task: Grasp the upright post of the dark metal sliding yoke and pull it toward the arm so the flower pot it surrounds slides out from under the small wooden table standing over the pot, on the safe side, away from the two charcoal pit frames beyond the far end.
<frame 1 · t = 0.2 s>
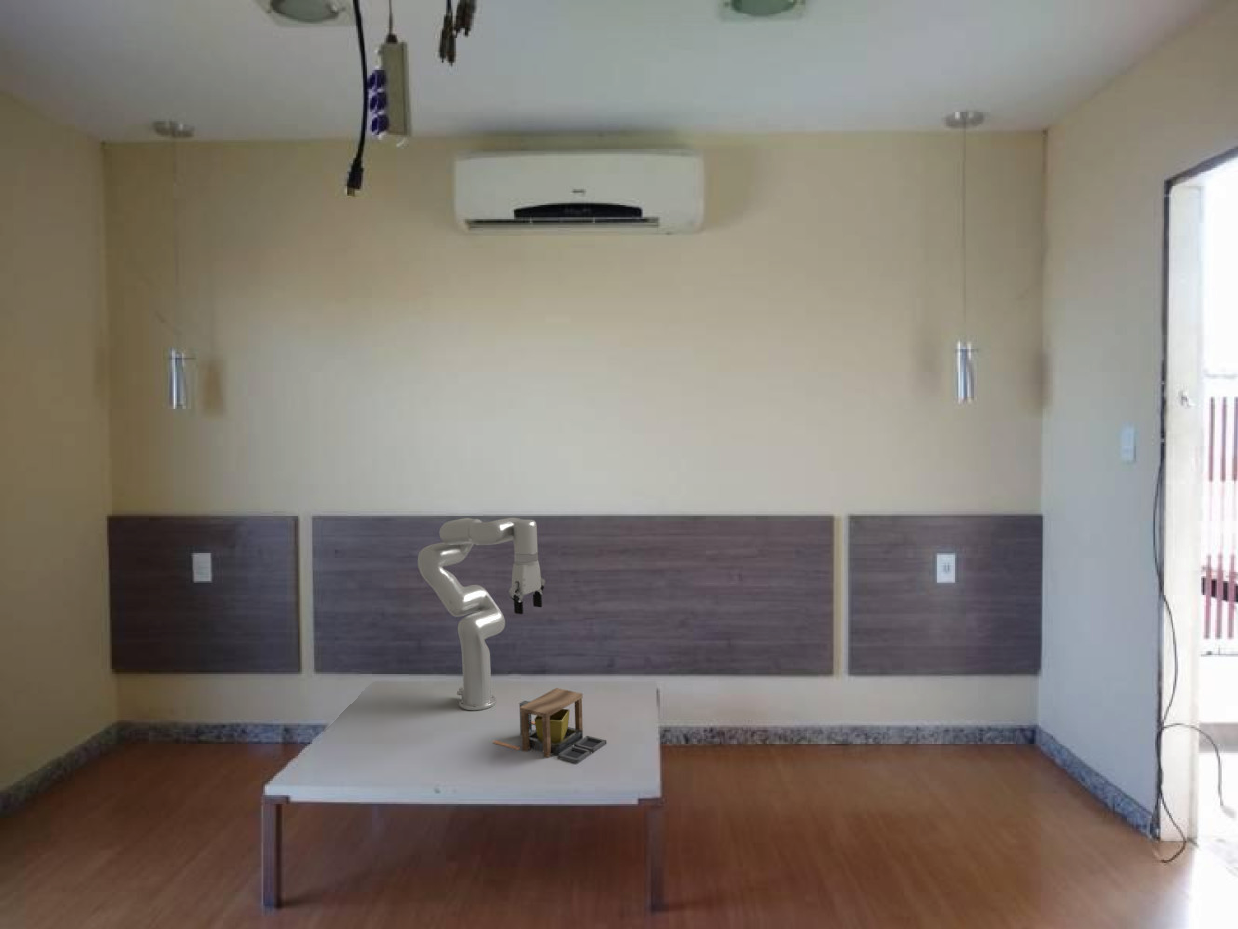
hand: (528, 610, 246), 36 cm above the table, tool pointing down, fingers open, 9 cm apart
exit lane: (524, 735, 235), on the table
yoke: (545, 723, 231), point 5 cm above the table, slide at 0.0 cm
small wooden table: (553, 742, 229), on the table
flower pot: (553, 743, 229), resting in yoke
pit frames: (582, 750, 224), on the table
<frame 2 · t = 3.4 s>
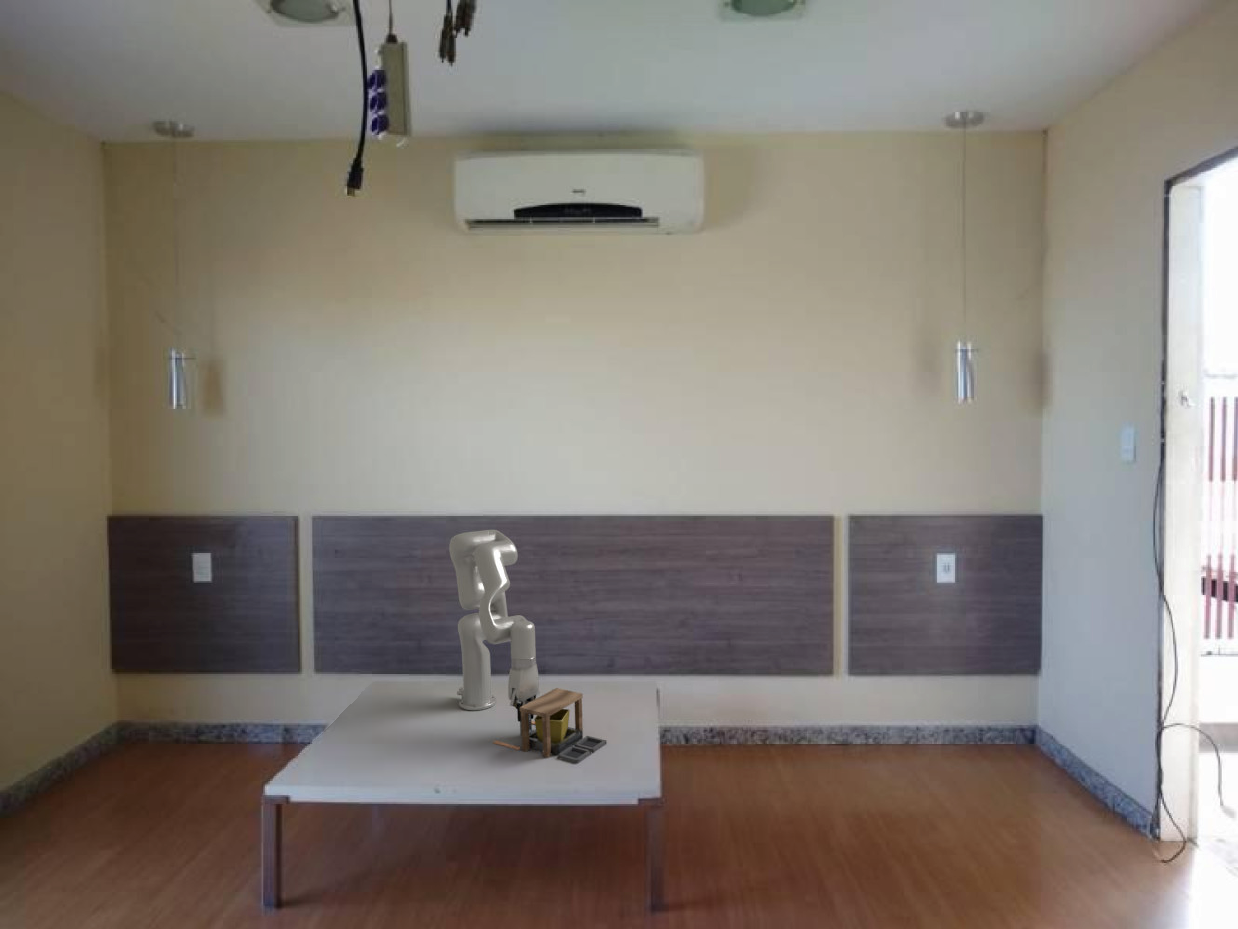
hand: (525, 719, 235), 5 cm above the table, tool pointing down, fingers closed on yoke, 2 cm apart
yoke: (545, 723, 231), point 5 cm above the table, slide at 0.0 cm, touching gripper
everything else where it was.
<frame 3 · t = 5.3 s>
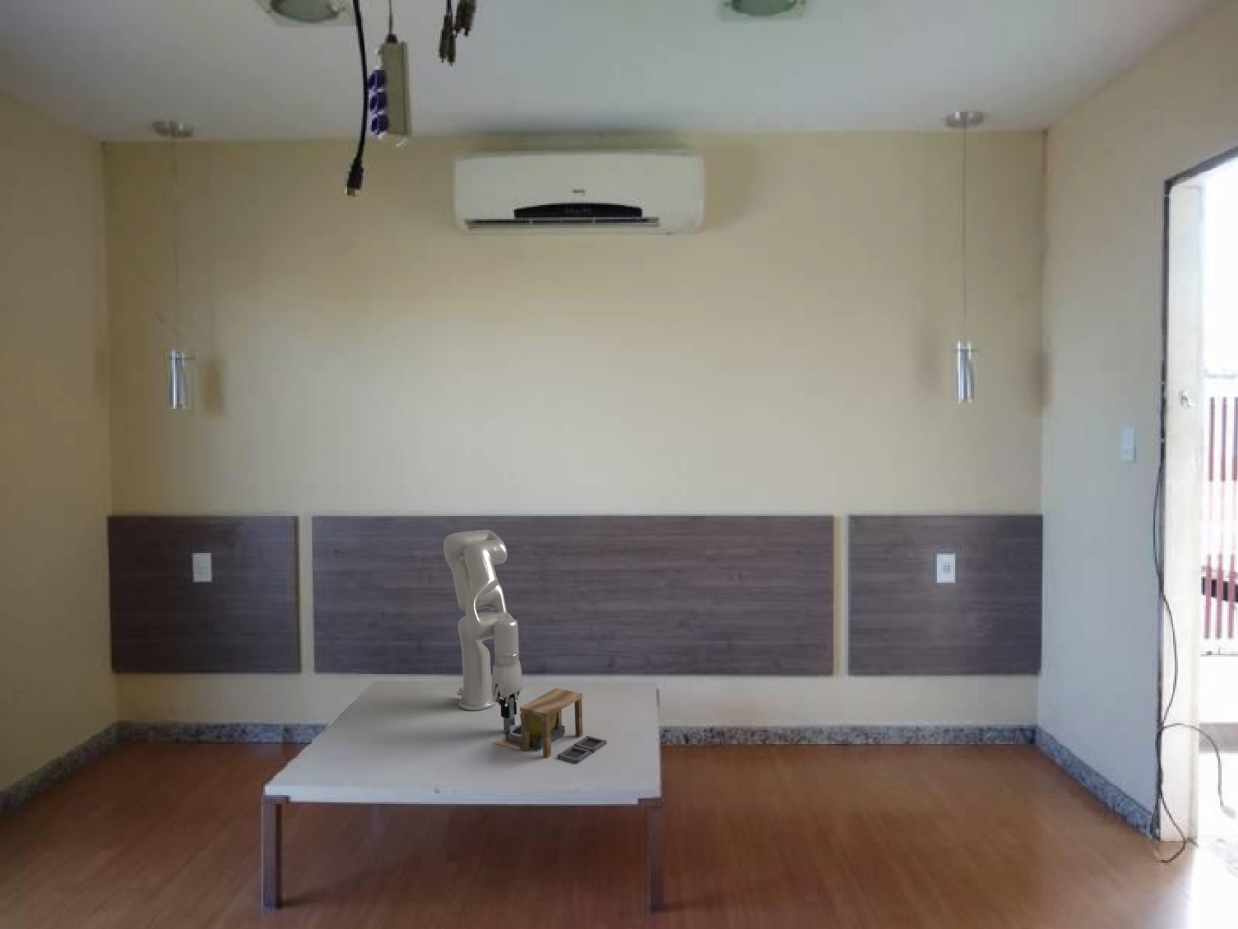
hand: (508, 715, 238), 5 cm above the table, tool pointing down, fingers closed on yoke, 2 cm apart
yoke: (528, 719, 234), point 5 cm above the table, slide at 6.8 cm, touching flower pot, gripper
flower pot: (539, 739, 233), resting in yoke
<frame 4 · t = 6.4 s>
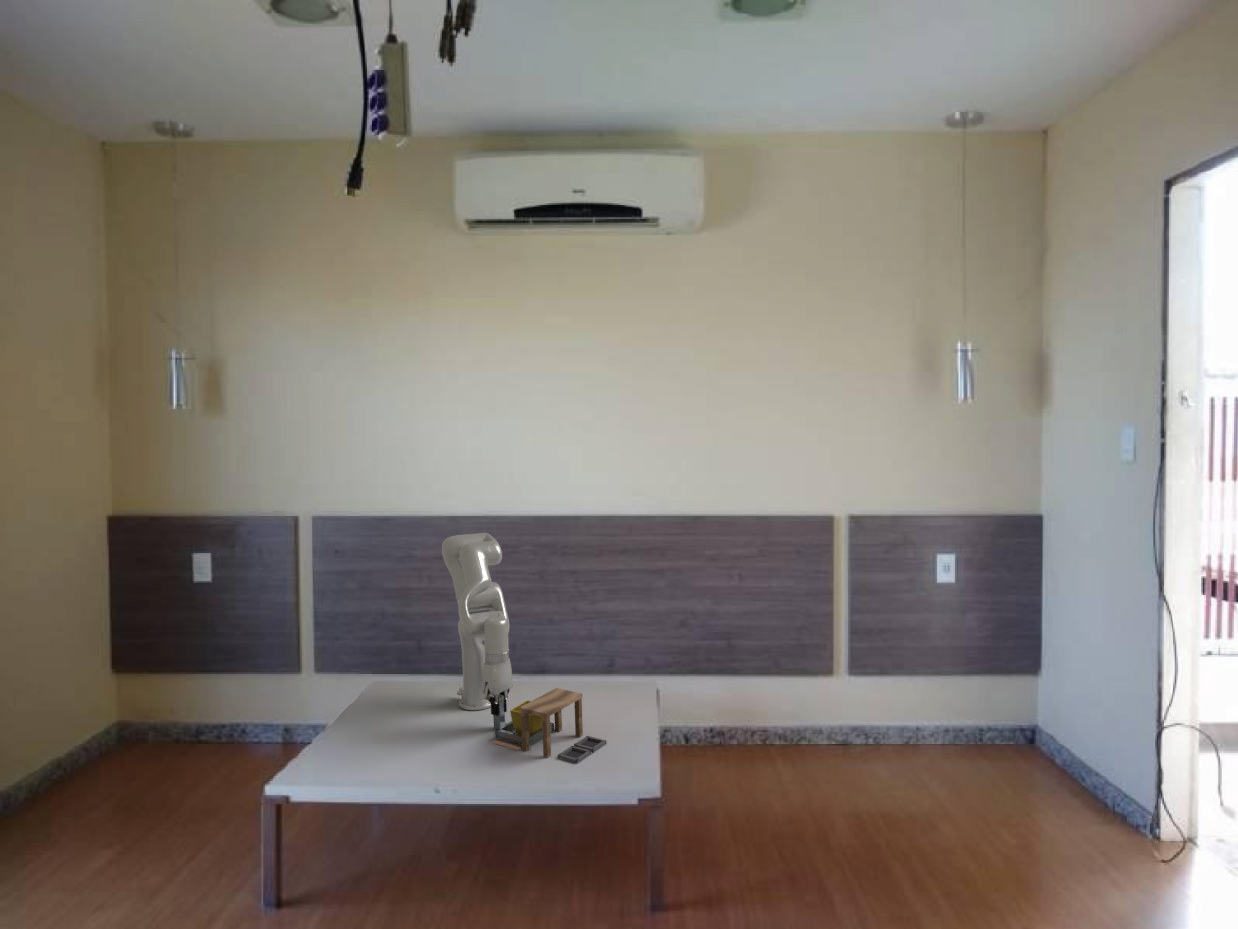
hand: (498, 712, 241), 5 cm above the table, tool pointing down, fingers closed on yoke, 2 cm apart
yoke: (517, 716, 236), point 5 cm above the table, slide at 11.0 cm, touching flower pot, gripper
flower pot: (530, 736, 235), resting in yoke
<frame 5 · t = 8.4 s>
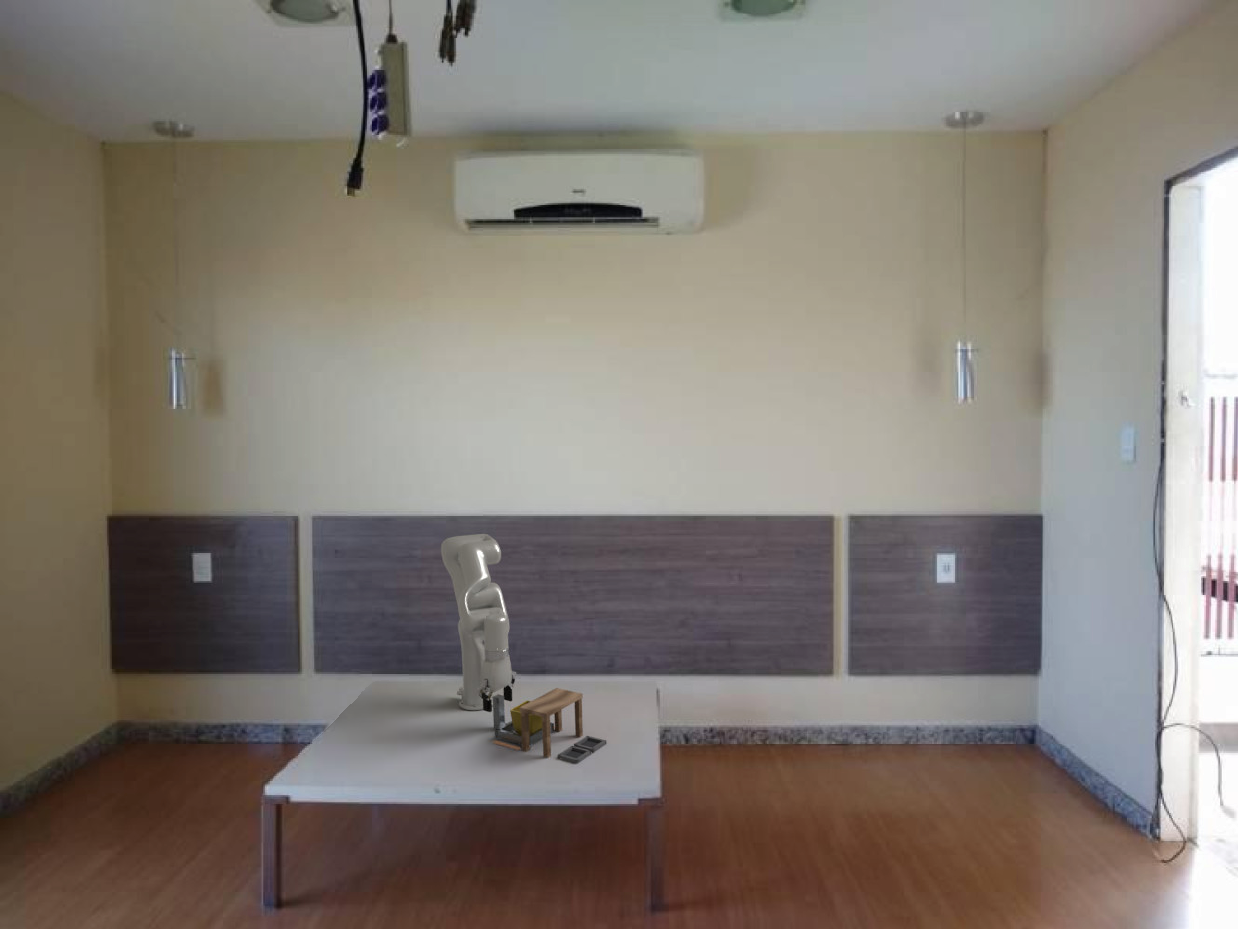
hand: (497, 705, 241), 7 cm above the table, tool pointing down, fingers open, 9 cm apart
yoke: (517, 716, 236), point 5 cm above the table, slide at 11.0 cm, touching flower pot
everything else where it was.
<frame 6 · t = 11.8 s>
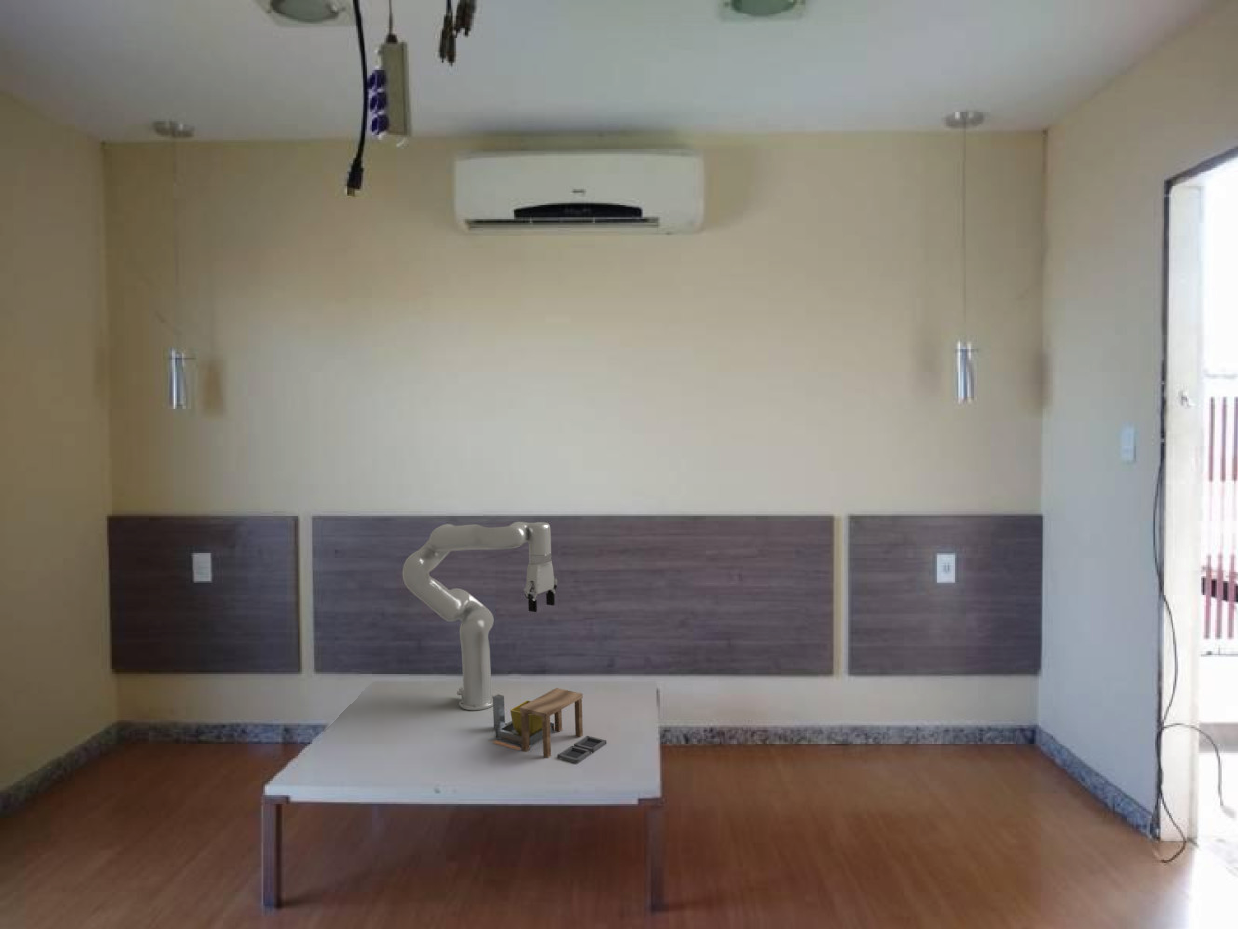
hand: (541, 608, 259), 33 cm above the table, tool pointing down, fingers open, 9 cm apart
nothing on the table moved.
at the end: yoke slide at 11.0 cm; flower pot inside the target area (1.2 cm from its centre), resting in yoke; flower pot tilted 0° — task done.
